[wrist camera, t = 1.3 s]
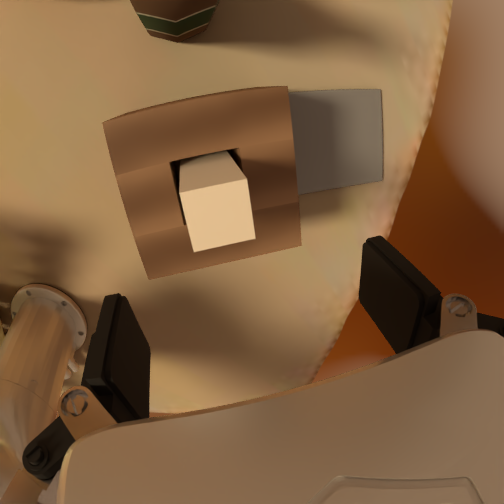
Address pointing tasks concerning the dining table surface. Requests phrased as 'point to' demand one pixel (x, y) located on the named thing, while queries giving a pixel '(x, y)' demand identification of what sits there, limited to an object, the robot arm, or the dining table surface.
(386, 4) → the dining table surface
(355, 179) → the rubber mat
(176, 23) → the beer bottle
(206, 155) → the square peg
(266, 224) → the wooden square ring
